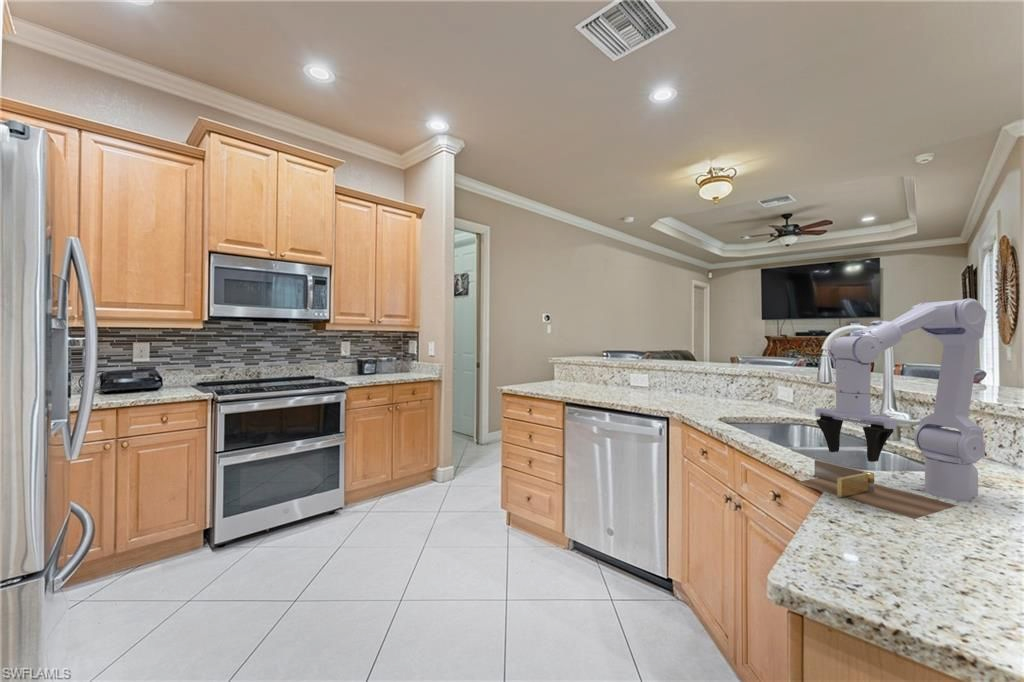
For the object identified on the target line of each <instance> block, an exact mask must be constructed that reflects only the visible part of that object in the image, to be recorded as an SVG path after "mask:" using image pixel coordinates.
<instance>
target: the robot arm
mask: <svg viewBox="0 0 1024 682" xmlns="http://www.w3.org/2000/svg"><path fill="white" fill-rule="evenodd" d="M986 317H987V311H986V309H985V308H984V307H983V305H982V304H981V303H980V302H979V301H978V300H977V299H975V298H970V297H969V298H964V299H956V300H943V301H933V302H932V301H931V302H928V301H927V302H926V301H924V302H920V303H918V304H916V305H911V308H910V310H908V311H907V312H905V313H903V314H901V315H900V316H897V318H894V319H892V320H890V321H887V320H880V319H879V320H873V321H871V322H869V324H870V325H868V326H867V327H865V328H863V329H858V330H854V331H853V334H851V335H849V336H839V337H837V338H835V340H833V341H832V342H831V344H830V347H829V348H828V351H827V352H828V355H829V358H830V359H831V360H832V367H833V368H834V369H833V370H835V408H825V407H815V408H814V409H815V411H814V413H815V417H817V419H816V424H817V425H818V427H819V428H820V430H821V432H822V434H823V436H824V439H825V442H826V444H827V448H828V452H830V453H838V452H840V451H839V450H840V441H841V440H840V439H841V438H840V437H841V429H842V427H843V423H844V421H845V422H850V423H856V424H861V425H868V426H863V427H862V429H863V432H864V436H865V442H866V458H867V461H868V462H870V463H875V462H879V458H880V457H881V456H880V455H881V452H882V450H883V447H884V446H885V444H886V442H887V441H888V440H889V438H890V437H891V435H892V434H893V433H894V429H897V418H892V417H887V416H884V415H883V416H882V415H877V414H872V413H871V398H872V397H871V395H872V394H871V377H872V376H871V367H872V366H871V365H872V364H871V363H875V362H876V360H877V359H878V357H879V355H880V354H881V353H882V352H884V351H886V350H888V349H890V348H892V347H894V346H896V345H897V344H899V343H901V341H902V339H903V335H906V334H909V333H910V332H913V331H916V330H918V329H920V330H922V331H923V332H924V333H926V334H927V335H928V336H929V337H932V339H935V340H937V341H939V342H940V343H941V344H942V346H943V348H942V355H941V361H940V370H939V375H938V381H937V388H936V394H935V402H934V408H933V412H932V413H930V414H928V415H926V416H924V417H923V418H921V419H920V421H919V425H918V428H917V429H916V431H915V432H914V436H913V441H914V445H915V447H916V448H917V449H918V450H919V451H920V455H921V456H924V491H925V492H926V493H928V494H931V495H932V496H933V495H934V496H936V497H940V498H944V499H950V500H954V501H955V500H956V501H964V502H965V501H972V500H973V498H974V497H978V496H979V471H978V469H977V468H976V467H977V466H975V464H977V462H979V461H980V460H981V459H982V458H984V455H985V453H986V444H985V441H984V429H983V428H982V427H981V426H979V424H977V423H975V422H974V421H973V420H972V419H970V418H969V415H970V410H971V409H970V408H971V400H972V395H973V394H972V393H973V388H974V381H975V374H976V373H975V372H976V365H977V360H978V353H979V346H980V340H981V339H983V337H984V332H985V326H986V319H987V318H986ZM945 427H946V428H945ZM948 428H952V429H948ZM954 429H957V430H954Z"/></svg>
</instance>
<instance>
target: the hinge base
mask: <svg viewBox="0 0 1024 682" xmlns="http://www.w3.org/2000/svg"><path fill="white" fill-rule="evenodd" d="M813 469H814V473H813V474H814V475H813V476H814V477H815V478H811V479H804V480H798V481H795V482H794V483H795V484H798V485H802V486H805V487H809V488H812V489H815V490H819V491H820V492H825V493H828V494H832V495H834V496H837V478H842V477H847V476H851V475H856V474H861V473H864V472H865V471H864V470H861V469H856V468H854V467H853V468H852V467H848V466H844V465H840V464H836V463H832V462H828V461H824V460H820V459H814V468H813ZM843 498H845V499H848V500H851V501H854V502H858V503H861V504H865V505H867V506H871V507H874V508H877V509H880V510H883V511H887V512H890V513H894V514H898V515H901V516H904V517H908V518H910V519H914V520H915V519H919V518H922V517H926V516H929V515H932V514H935V513H938V512H942V511H944V510H945V511H946V510H948V509H952V508H955V507H958V505H957V504H954V503H950V502H947V501H943V500H938V499H935V498H931V497H927V496H923V495H919V494H916V493H912V492H907V491H905V490H901V489H897V488H894V487H893V488H892V487H889V486H886V485H882V484H877V483H875V481H874V482H868V491H866V492H862V493H858V494H853V495H849V496H845V497H843Z"/></svg>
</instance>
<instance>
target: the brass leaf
mask: <svg viewBox="0 0 1024 682" xmlns="http://www.w3.org/2000/svg"><path fill="white" fill-rule="evenodd" d="M868 482H874V483H875V473H874V472H872V471H871V472H870V471H864V473H861V474H856V475H851V476H847V477H842V478H837V495H836V496H837V497H839V498H844V497H845V496H849V495H853V494H858V493H862V492H866V491H868Z"/></svg>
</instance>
